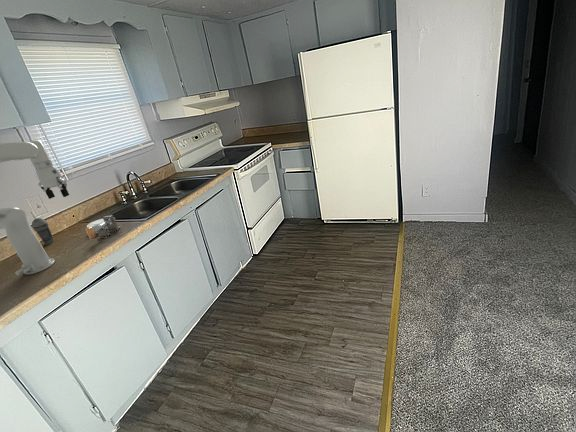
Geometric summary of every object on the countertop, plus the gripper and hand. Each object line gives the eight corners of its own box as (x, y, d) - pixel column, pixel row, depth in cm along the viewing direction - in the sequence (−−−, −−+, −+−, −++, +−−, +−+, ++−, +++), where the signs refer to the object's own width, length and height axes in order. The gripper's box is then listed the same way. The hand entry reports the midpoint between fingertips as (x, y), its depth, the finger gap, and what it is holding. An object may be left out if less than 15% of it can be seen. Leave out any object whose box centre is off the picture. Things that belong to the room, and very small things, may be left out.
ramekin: (88, 236, 175) (84, 228, 173) (93, 229, 185) (89, 221, 183) (108, 231, 177) (105, 223, 175) (112, 224, 187) (109, 216, 185)
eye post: (115, 231, 174) (108, 217, 170) (107, 232, 175) (100, 218, 172) (120, 227, 178) (114, 214, 175) (112, 228, 180) (106, 214, 176)
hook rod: (94, 239, 161) (89, 229, 158) (88, 239, 162) (83, 230, 159) (118, 222, 179) (114, 213, 176) (113, 223, 179) (109, 213, 177)
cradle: (105, 238, 167) (102, 230, 166) (98, 239, 168) (94, 231, 167) (110, 234, 171) (107, 227, 169) (103, 235, 172) (99, 228, 170)
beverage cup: (49, 245, 173) (31, 213, 165) (39, 246, 175) (21, 215, 167) (60, 239, 179) (43, 208, 171) (50, 239, 181) (33, 209, 173)
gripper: (63, 161, 154) (78, 192, 161) (37, 165, 158) (52, 195, 165) (49, 165, 147) (66, 198, 154) (23, 169, 152) (40, 201, 158)
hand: (59, 196), depth 160 cm, fingers open, 9 cm apart
